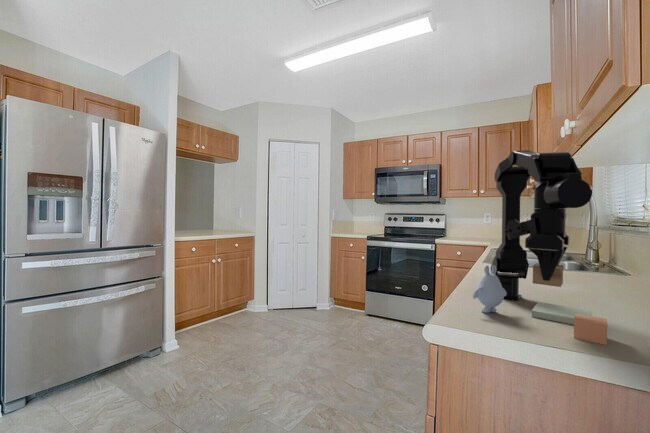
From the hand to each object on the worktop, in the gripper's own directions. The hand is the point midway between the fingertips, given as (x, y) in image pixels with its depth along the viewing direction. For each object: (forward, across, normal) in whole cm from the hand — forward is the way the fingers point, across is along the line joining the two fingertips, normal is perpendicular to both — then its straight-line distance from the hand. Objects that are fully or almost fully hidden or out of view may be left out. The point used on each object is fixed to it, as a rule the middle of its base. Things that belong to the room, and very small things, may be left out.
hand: (547, 278), depth 69 cm
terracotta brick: (+11, +2, +7) cm, 13 cm away
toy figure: (+11, -2, -12) cm, 16 cm away
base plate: (+11, -11, +2) cm, 16 cm away
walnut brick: (+1, 0, 0) cm, 1 cm away
